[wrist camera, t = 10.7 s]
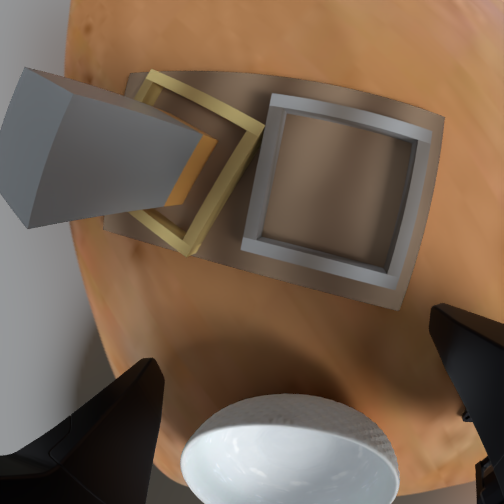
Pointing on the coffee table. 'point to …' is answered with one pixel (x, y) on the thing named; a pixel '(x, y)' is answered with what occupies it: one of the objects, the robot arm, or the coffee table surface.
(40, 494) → the robot arm
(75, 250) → the coffee table surface
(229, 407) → the cereal bowl
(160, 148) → the grey square pillar
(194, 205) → the station board
